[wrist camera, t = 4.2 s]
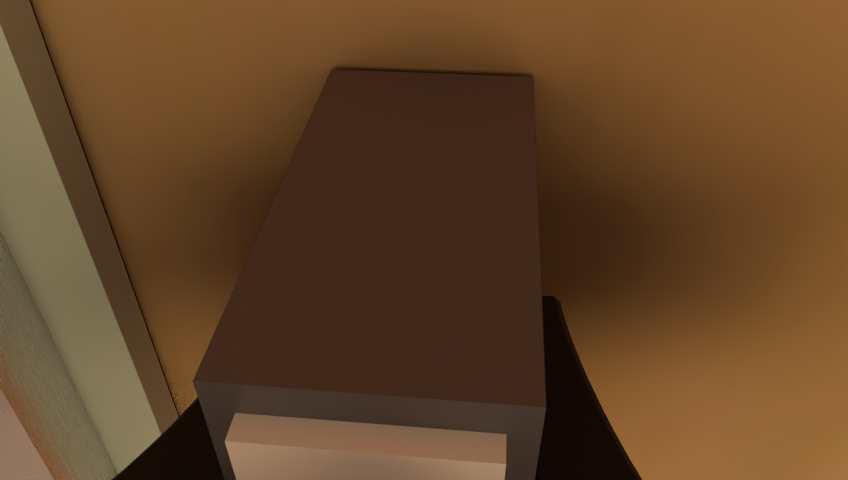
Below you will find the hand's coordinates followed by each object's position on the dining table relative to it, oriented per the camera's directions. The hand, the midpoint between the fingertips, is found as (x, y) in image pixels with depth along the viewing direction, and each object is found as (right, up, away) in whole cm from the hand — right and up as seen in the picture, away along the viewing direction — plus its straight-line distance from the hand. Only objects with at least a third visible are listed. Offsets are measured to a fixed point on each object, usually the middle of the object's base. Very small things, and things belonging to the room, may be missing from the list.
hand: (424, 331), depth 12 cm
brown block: (0, +1, +1) cm, 1 cm away
